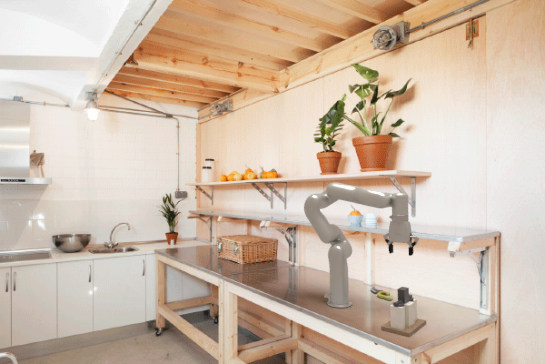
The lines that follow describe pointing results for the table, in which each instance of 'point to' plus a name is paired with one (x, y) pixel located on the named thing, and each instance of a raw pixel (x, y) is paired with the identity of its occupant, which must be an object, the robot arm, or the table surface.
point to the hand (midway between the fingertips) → (400, 254)
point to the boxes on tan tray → (404, 319)
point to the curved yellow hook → (382, 294)
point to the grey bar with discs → (403, 297)
